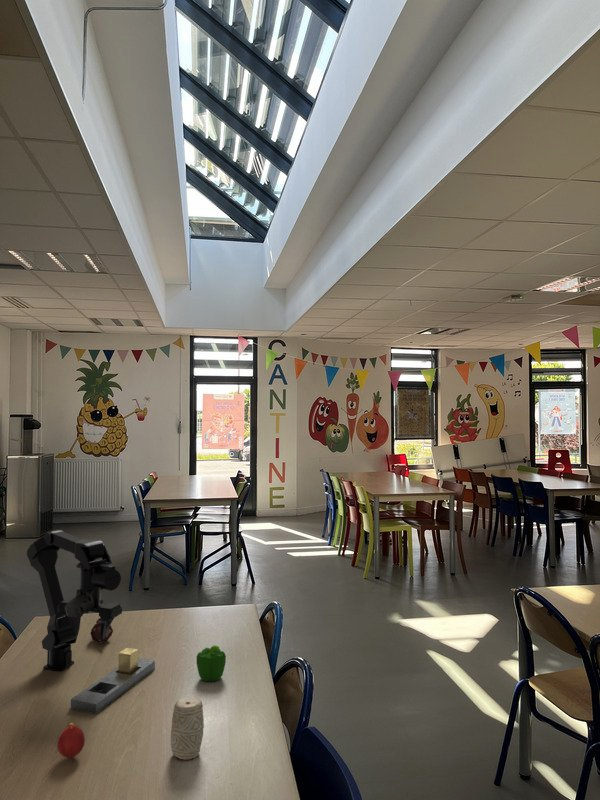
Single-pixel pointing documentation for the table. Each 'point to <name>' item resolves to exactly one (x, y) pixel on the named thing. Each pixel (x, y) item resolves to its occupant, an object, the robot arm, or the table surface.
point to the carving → (187, 728)
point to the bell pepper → (211, 663)
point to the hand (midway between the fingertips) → (89, 637)
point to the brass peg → (128, 661)
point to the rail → (110, 688)
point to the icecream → (96, 632)
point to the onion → (71, 741)
